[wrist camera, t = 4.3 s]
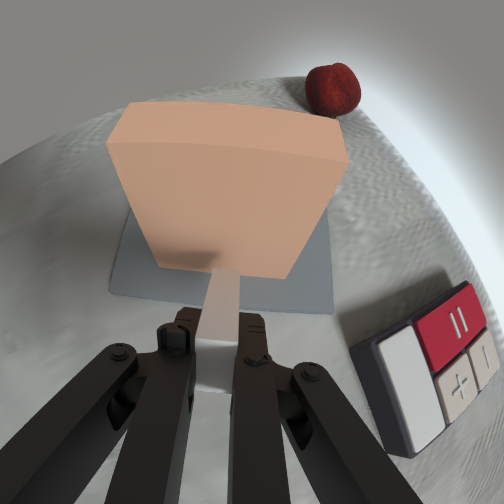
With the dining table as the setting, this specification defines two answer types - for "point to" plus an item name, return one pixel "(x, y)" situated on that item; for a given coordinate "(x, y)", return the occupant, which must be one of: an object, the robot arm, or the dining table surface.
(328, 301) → the mat
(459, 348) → the calculator
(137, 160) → the block
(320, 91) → the apple
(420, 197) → the dining table surface
